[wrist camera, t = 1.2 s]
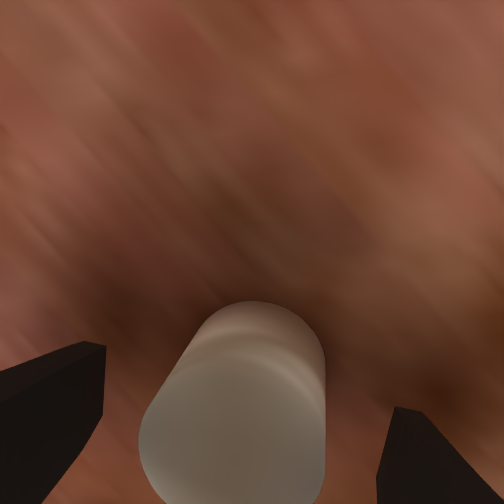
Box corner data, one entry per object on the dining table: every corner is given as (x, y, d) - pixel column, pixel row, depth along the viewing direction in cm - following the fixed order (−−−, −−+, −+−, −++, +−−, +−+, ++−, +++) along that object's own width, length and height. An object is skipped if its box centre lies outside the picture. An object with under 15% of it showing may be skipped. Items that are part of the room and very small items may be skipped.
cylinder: (337, 315, 12) (342, 395, 9) (312, 436, 14) (307, 555, 10) (198, 288, 13) (145, 353, 9) (184, 407, 14) (132, 510, 10)
